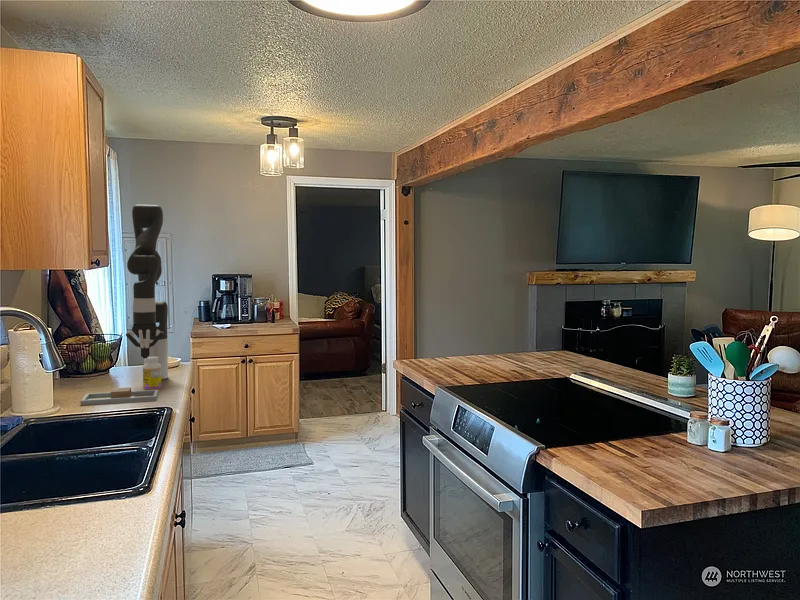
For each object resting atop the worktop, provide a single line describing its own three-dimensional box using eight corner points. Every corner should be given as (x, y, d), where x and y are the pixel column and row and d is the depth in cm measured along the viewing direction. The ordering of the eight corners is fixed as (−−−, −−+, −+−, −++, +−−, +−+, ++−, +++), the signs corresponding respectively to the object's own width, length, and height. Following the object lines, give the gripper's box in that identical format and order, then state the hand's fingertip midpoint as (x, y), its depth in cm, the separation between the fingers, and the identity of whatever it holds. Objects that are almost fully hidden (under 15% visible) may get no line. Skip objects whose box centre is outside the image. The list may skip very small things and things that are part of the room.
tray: (86, 400, 211) (86, 393, 211) (158, 396, 219) (158, 389, 219) (80, 407, 201) (80, 400, 201) (156, 403, 209) (156, 396, 208)
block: (113, 397, 212) (112, 388, 211) (131, 396, 214) (131, 387, 213) (110, 401, 206) (110, 391, 206) (129, 400, 208) (129, 390, 208)
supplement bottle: (140, 389, 230) (140, 356, 229) (158, 386, 234) (157, 355, 234) (146, 392, 225) (145, 359, 224) (163, 389, 229) (163, 357, 228)
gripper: (164, 309, 216) (165, 355, 217) (125, 309, 212) (126, 357, 213) (163, 311, 209) (164, 359, 210) (122, 311, 205) (123, 360, 206)
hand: (145, 358), depth 211 cm, fingers closed
